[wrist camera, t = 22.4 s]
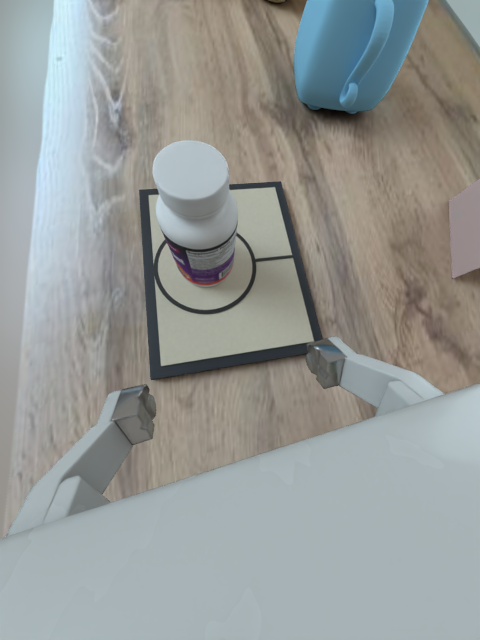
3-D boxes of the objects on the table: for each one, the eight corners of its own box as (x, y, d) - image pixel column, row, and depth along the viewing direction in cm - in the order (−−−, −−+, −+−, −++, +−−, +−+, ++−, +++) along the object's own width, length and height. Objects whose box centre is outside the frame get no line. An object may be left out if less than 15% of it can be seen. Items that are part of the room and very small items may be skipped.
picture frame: (153, 379, 18) (149, 380, 17) (141, 195, 23) (137, 187, 22) (321, 351, 20) (327, 350, 19) (279, 187, 25) (281, 178, 24)
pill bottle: (173, 245, 20) (130, 134, 11) (225, 235, 21) (227, 124, 12) (184, 294, 19) (146, 218, 10) (239, 282, 20) (254, 201, 10)
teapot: (359, 53, 33) (429, -110, 22) (379, 135, 28) (479, -16, 17) (284, 43, 32) (317, -132, 21) (292, 127, 27) (339, -39, 16)
